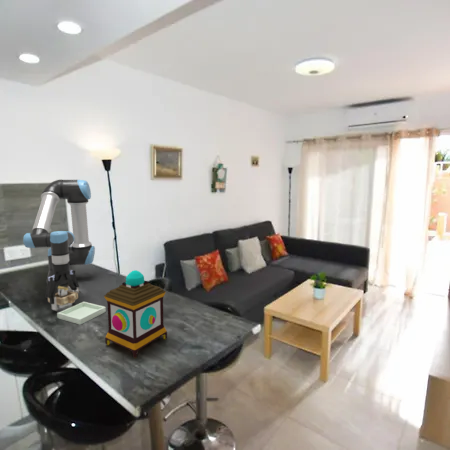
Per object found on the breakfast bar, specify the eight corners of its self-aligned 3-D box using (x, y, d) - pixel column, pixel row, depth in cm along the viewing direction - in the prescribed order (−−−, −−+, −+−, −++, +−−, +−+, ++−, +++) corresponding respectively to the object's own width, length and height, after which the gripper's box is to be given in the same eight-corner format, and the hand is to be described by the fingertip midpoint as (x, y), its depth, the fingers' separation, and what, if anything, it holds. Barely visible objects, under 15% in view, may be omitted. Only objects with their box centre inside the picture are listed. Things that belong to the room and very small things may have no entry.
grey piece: (65, 304, 154) (64, 283, 152) (75, 307, 151) (74, 285, 149) (51, 310, 147) (50, 288, 146) (62, 313, 144) (60, 290, 143)
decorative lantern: (134, 362, 106) (131, 282, 102) (99, 346, 116) (96, 272, 112) (172, 338, 123) (171, 268, 118) (139, 325, 133) (137, 260, 129)
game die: (76, 303, 165) (87, 289, 165) (63, 303, 158) (74, 288, 157) (69, 292, 169) (79, 278, 169) (56, 291, 162) (66, 277, 161)
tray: (84, 306, 152) (83, 301, 152) (106, 311, 147) (105, 306, 146) (57, 318, 139) (57, 313, 139) (80, 324, 133) (80, 319, 133)
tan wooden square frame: (65, 295, 155) (64, 289, 154) (81, 299, 150) (80, 293, 150) (48, 302, 146) (47, 296, 146) (64, 306, 142) (63, 300, 141)
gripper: (74, 256, 157) (77, 296, 161) (33, 267, 137) (37, 313, 140) (85, 258, 154) (87, 299, 158) (44, 269, 134) (48, 316, 137)
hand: (63, 305), depth 149 cm, fingers closed on tan wooden square frame, 9 cm apart
